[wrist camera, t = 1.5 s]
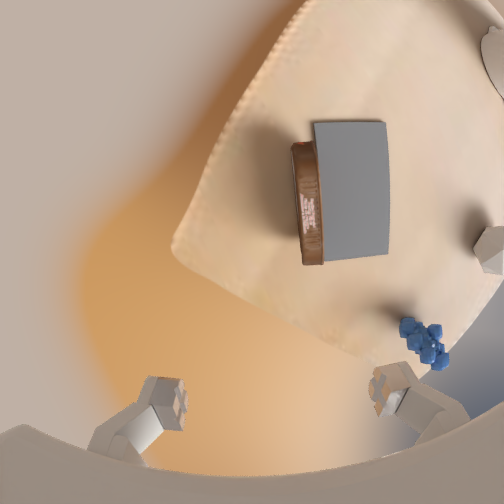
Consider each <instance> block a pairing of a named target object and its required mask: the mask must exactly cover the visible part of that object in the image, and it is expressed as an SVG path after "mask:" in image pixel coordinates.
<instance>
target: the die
mask: <svg viewBox="0 0 504 504" xmlns="http://www.w3.org/2000/svg"><path fill="white" fill-rule="evenodd" d="M473 250H474V252H475V254H476V256H477V258H478V260H479V262H480V264H481V266H482V269H483V271H484V273H490V274H497V275H503V274H504V226H498V227H486V229H485V230H484V232H483V233H482V235H481V237H480V238H479V240H478V241H477V243H476V245H475V246H474V248H473Z"/></svg>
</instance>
